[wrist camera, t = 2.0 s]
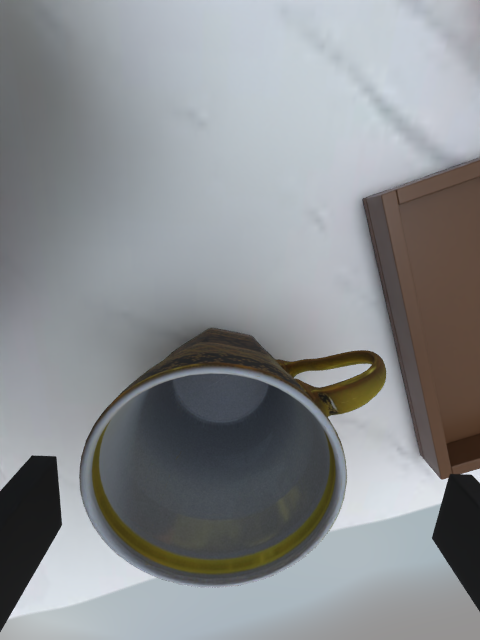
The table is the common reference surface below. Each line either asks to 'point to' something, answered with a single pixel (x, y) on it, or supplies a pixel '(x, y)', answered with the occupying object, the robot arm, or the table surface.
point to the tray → (435, 306)
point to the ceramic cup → (222, 461)
